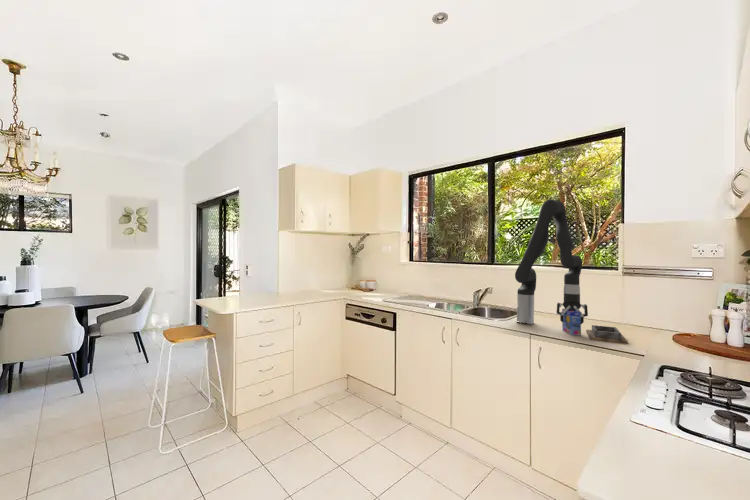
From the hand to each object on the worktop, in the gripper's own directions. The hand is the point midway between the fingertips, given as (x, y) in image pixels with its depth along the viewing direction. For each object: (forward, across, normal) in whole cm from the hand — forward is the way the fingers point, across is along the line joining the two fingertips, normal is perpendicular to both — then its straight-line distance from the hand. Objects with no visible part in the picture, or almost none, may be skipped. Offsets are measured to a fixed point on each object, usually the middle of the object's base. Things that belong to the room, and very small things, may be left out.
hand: (571, 323), depth 178 cm
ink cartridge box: (+6, 0, 0) cm, 6 cm away
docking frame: (+5, +15, -2) cm, 16 cm away
